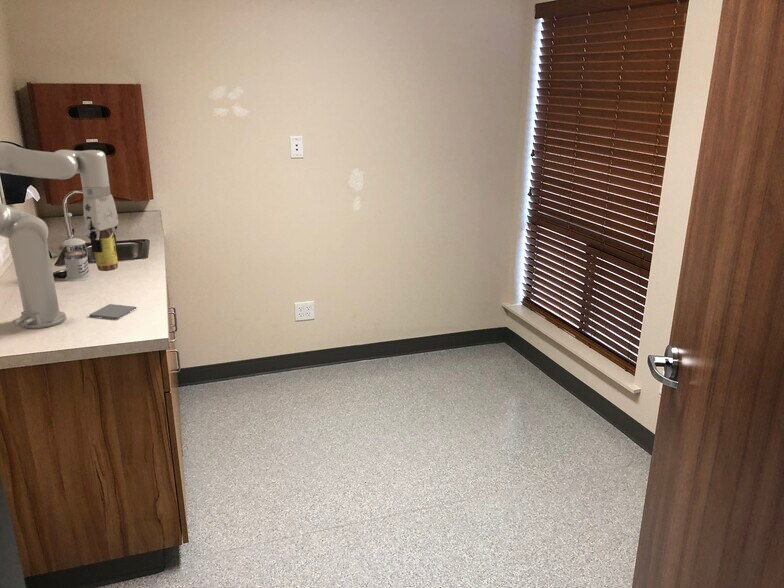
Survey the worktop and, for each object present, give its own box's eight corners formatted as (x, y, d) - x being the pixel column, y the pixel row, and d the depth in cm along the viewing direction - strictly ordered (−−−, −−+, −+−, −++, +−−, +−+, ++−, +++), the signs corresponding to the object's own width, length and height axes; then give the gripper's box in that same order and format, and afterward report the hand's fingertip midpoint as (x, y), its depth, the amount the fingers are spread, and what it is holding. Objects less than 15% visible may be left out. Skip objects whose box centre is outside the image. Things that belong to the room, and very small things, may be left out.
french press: (59, 281, 223) (47, 215, 215) (76, 271, 234) (66, 209, 226) (84, 281, 223) (74, 216, 215) (100, 272, 234) (91, 209, 226)
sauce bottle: (122, 269, 189) (113, 207, 182) (102, 273, 185) (92, 210, 178) (113, 264, 193) (104, 204, 187) (93, 268, 189) (83, 206, 182)
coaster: (117, 319, 189) (117, 317, 188) (89, 316, 190) (89, 314, 190) (136, 309, 198) (136, 306, 197) (110, 306, 200) (109, 303, 199)
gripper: (88, 197, 172) (97, 257, 178) (125, 188, 188) (132, 243, 194) (65, 196, 174) (75, 255, 180) (104, 187, 190) (111, 241, 196)
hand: (104, 248), depth 187 cm, fingers closed on sauce bottle, 6 cm apart
